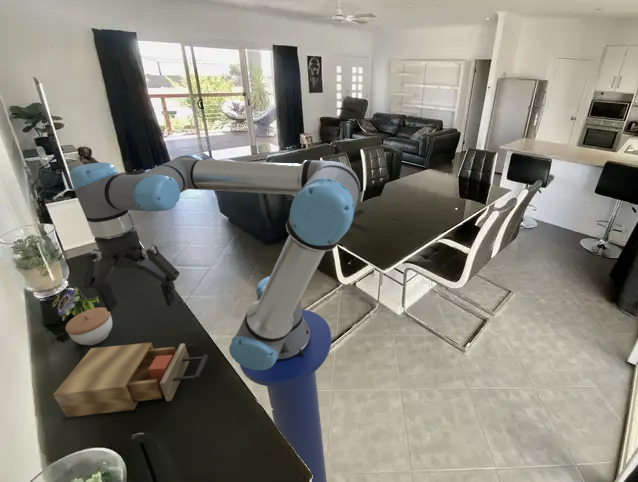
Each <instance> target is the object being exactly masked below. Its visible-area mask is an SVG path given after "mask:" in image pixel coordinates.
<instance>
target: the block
mask: <svg viewBox="0 0 638 482" xmlns="http://www.w3.org/2000/svg"><path fill="white" fill-rule="evenodd" d="M172 359H173V356H172V355H166V356H156V358H155V359H154V361H153V362H152V364H151V366H150V367H149V369H148V371H149V373H150V376H151V378H152V380H155V379H157V381H158V383H159V385H160V382H161V380H162V378H163V376H164V374H165V372H166V370H167V368H168V366H169V365H170V363H171V361H172Z"/></svg>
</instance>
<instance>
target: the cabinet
mask: <svg viewBox="0 0 638 482" xmlns="http://www.w3.org/2000/svg"><path fill="white" fill-rule="evenodd" d="M149 349H155V348H154V345H153V343H152V342H143V343H142V342H141V343H132V344H120V345H112V346H101V347H99V346H98V347H91V348H90V349H89V350H88V351H87V353H86V354H85V355H84V356H83V357H82V359H81V360H80V361H79V363H78V364H77V365H76V366H75V367H74V368H73V369H72V371H71V372H70V373H69V374H68V376H67V377H66V378H65V379H64V380H63V381H62V383H61V384H60V385H59V387H58V388H57V389H56V390H55V391H54V393H53V394H52V395H53V397H54V398H55V401H56V402H57V404H58V405H59V408H61V410H62V412H63V413H64V416H65V417H66V418H75V417H83V416H91V415H100V414H108V413H117V412H125V411H134V410H135V409H136V407H137V405H138V404H139V402H140V401H135V402H133V400H132V397H131V395H130V393H129V391H128V389H127V384H128V383H129V381H130V379H131V378H132V376H133V374H134V373H135V371H136V370H137V368H138V366H139V365H140V363H141V362H142V360H143V358H144V357H145V355H146V354H147V352H148V350H149Z"/></svg>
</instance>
